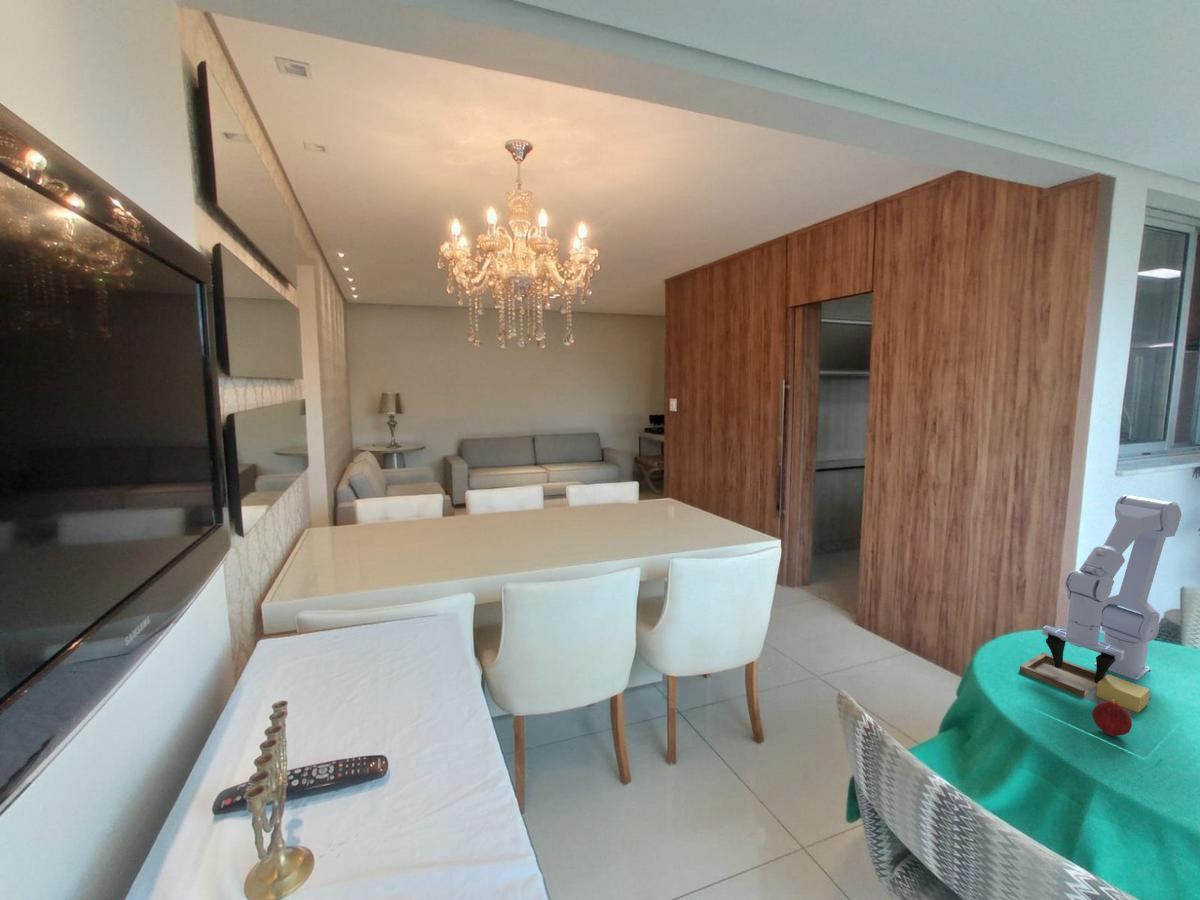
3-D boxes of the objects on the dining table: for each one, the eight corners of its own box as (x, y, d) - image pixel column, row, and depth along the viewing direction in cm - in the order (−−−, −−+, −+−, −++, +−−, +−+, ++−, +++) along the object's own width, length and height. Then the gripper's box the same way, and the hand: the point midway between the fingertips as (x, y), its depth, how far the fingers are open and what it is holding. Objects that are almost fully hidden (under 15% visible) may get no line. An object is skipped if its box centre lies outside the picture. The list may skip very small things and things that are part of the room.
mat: (1104, 681, 125) (1104, 680, 125) (1150, 699, 118) (1150, 698, 118) (1082, 698, 119) (1082, 697, 119) (1130, 717, 112) (1130, 716, 112)
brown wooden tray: (1042, 658, 136) (1042, 652, 136) (1103, 681, 125) (1104, 674, 125) (1019, 672, 130) (1019, 665, 130) (1082, 698, 119) (1082, 691, 119)
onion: (1137, 746, 104) (1142, 710, 103) (1103, 743, 105) (1108, 707, 104) (1115, 727, 110) (1119, 692, 108) (1083, 724, 111) (1087, 690, 110)
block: (1106, 687, 123) (1108, 674, 122) (1148, 703, 116) (1150, 689, 116) (1096, 695, 120) (1098, 682, 119) (1138, 712, 114) (1140, 698, 113)
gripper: (1038, 613, 127) (1033, 664, 129) (1118, 638, 115) (1111, 695, 117) (1051, 606, 130) (1046, 656, 132) (1130, 630, 118) (1123, 685, 120)
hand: (1077, 674), depth 125 cm, fingers open, 7 cm apart
